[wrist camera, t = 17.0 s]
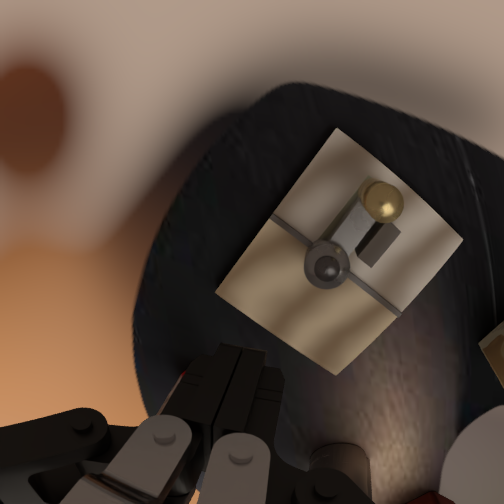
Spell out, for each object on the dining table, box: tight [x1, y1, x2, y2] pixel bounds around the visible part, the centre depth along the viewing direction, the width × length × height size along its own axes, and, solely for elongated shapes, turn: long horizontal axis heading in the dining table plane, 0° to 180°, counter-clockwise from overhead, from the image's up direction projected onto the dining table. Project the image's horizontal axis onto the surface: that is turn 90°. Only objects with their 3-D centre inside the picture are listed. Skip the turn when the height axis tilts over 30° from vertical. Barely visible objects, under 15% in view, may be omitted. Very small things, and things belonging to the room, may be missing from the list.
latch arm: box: [304, 178, 404, 289], centre depth 28 cm, size 12×4×6 cm, turn 148°
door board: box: [215, 128, 463, 375], centre depth 32 cm, size 18×22×4 cm
